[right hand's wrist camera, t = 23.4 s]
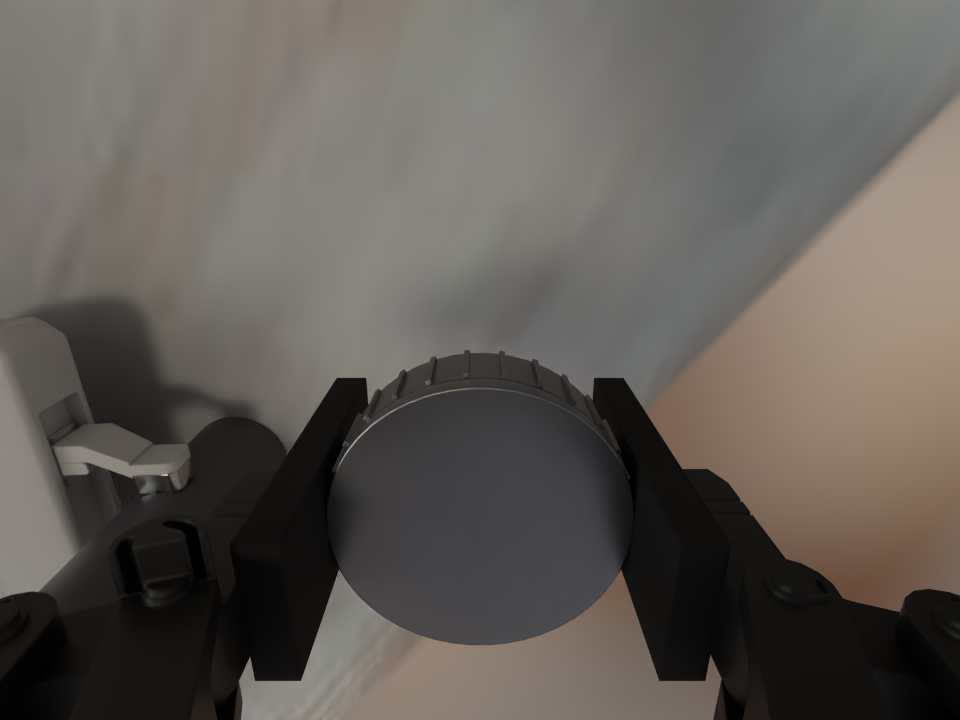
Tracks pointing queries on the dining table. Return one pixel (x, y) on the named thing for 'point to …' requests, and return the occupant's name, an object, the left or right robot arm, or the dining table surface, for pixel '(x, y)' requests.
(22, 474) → the left robot arm
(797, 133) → the dining table surface
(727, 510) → the right robot arm
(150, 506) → the bottle
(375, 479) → the lid
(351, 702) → the dining table surface
